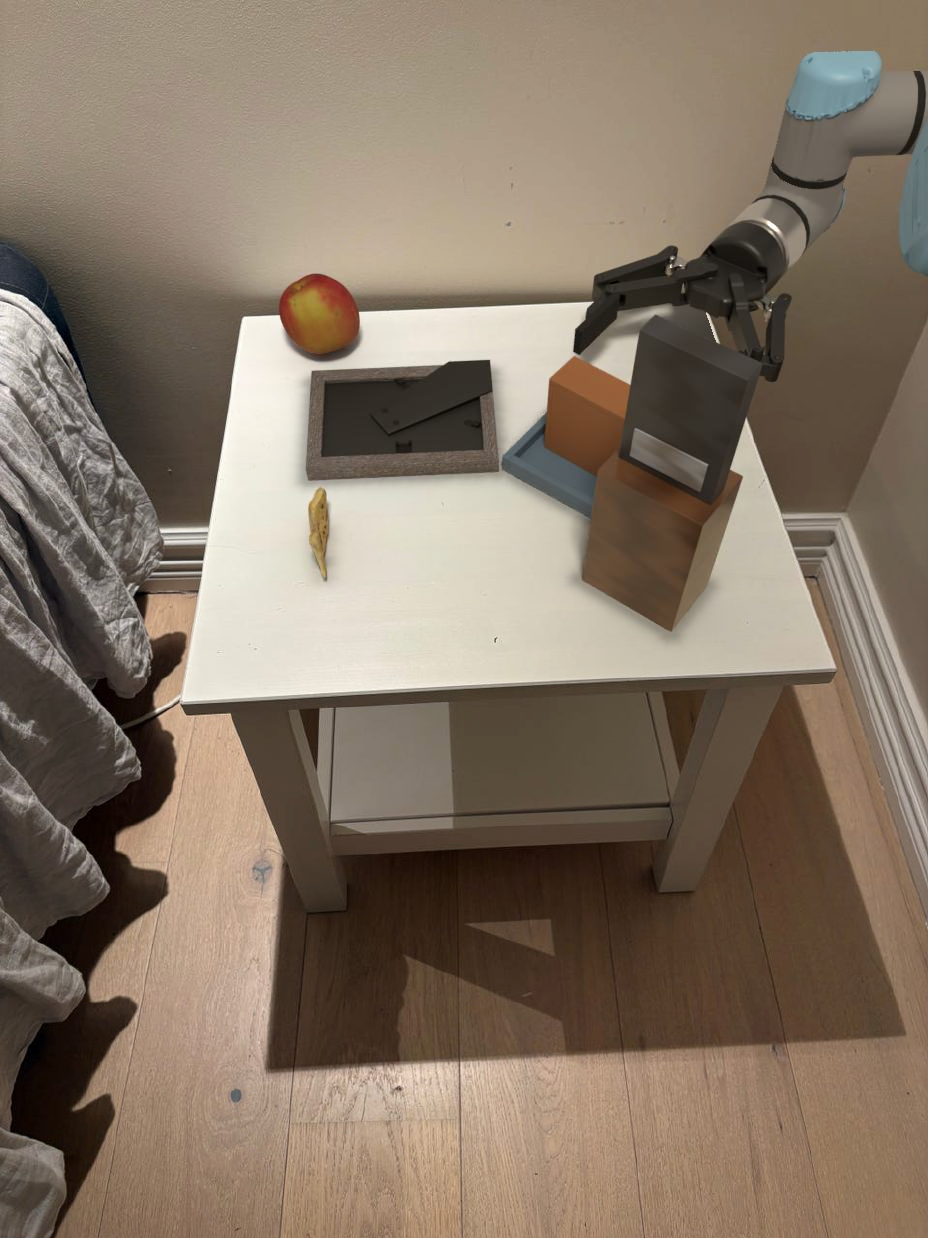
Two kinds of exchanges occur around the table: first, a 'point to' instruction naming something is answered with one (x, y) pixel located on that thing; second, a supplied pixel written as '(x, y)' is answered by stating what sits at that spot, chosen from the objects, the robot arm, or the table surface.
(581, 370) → the orange brown block
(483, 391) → the picture frame
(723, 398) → the wooden block with slab
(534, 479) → the tray
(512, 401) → the table surface
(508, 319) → the table surface
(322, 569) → the pastry
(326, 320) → the apple
